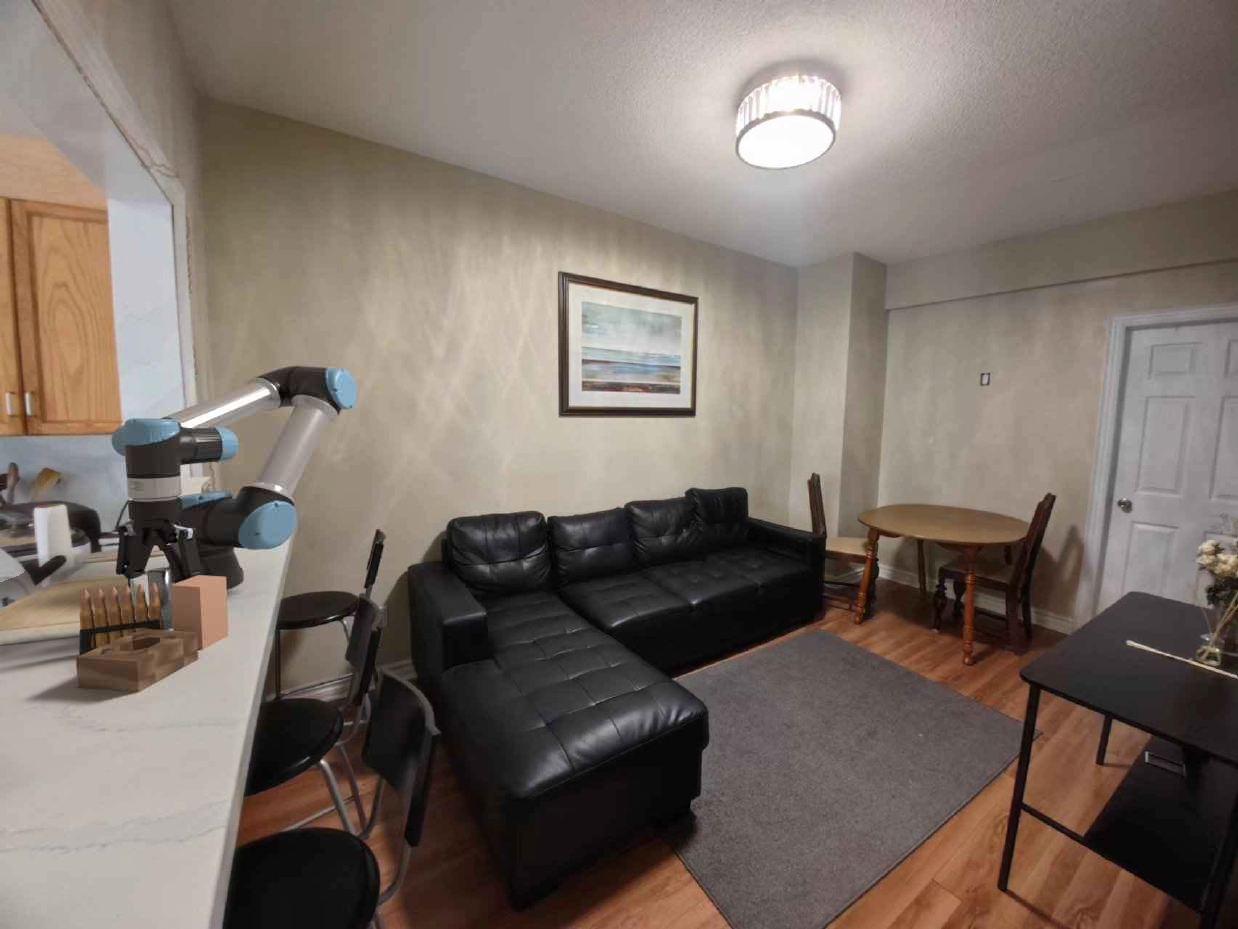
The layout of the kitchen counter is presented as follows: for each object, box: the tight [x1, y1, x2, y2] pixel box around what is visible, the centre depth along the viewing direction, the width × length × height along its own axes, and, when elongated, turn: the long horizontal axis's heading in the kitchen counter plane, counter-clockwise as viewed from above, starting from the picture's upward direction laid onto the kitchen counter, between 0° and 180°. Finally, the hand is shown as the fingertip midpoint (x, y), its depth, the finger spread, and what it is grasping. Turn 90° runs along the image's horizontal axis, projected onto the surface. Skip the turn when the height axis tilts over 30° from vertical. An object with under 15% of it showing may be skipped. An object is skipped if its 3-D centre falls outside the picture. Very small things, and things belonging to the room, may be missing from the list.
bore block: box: [75, 629, 199, 693], centre depth 79 cm, size 10×10×5 cm
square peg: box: [171, 575, 229, 650], centre depth 89 cm, size 6×6×12 cm
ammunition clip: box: [79, 582, 164, 656], centre depth 85 cm, size 11×2×12 cm, turn 121°
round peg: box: [146, 566, 173, 631], centre depth 94 cm, size 3×3×12 cm
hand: (161, 610), depth 94 cm, fingers open, 8 cm apart
